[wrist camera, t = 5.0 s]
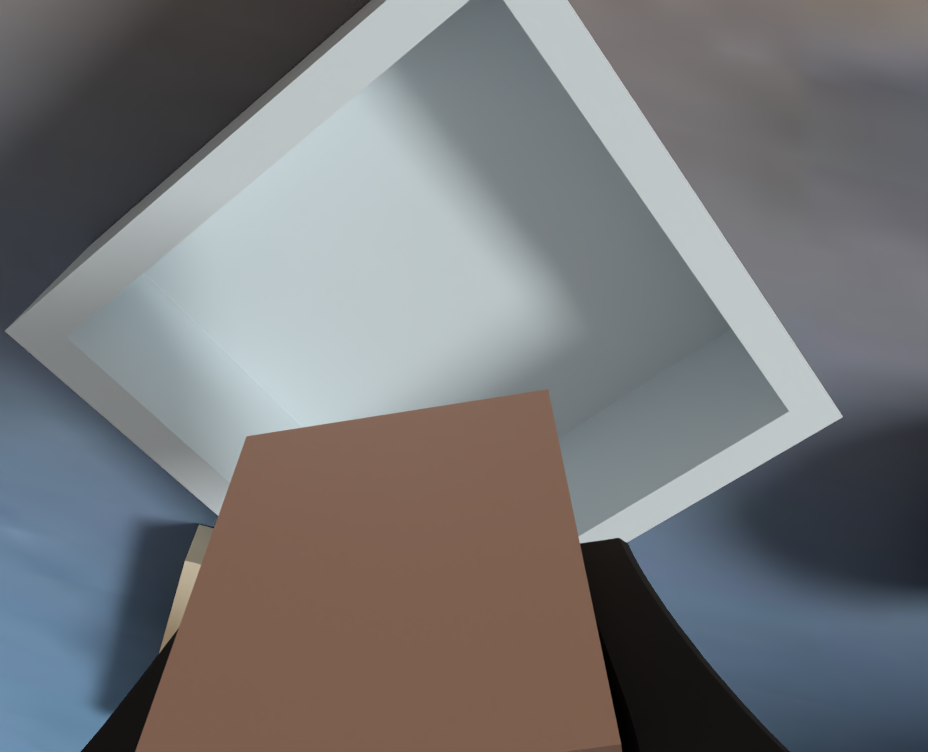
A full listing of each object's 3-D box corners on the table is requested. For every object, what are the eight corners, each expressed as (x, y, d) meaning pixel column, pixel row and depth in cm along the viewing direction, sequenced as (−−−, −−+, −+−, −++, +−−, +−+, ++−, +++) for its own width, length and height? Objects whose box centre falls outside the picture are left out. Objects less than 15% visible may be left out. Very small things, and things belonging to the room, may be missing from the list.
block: (580, 614, 15) (654, 1010, 10) (321, 650, 15) (257, 1054, 10) (548, 389, 13) (620, 743, 8) (247, 436, 13) (115, 809, 8)
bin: (407, 549, 25) (400, 674, 21) (89, 245, 20) (4, 330, 16) (770, 321, 22) (843, 416, 18) (488, -102, 17) (501, -100, 13)
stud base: (385, 766, 29) (374, 926, 25) (145, 712, 28) (87, 872, 23) (469, 596, 26) (474, 747, 21) (198, 524, 24) (143, 669, 20)
